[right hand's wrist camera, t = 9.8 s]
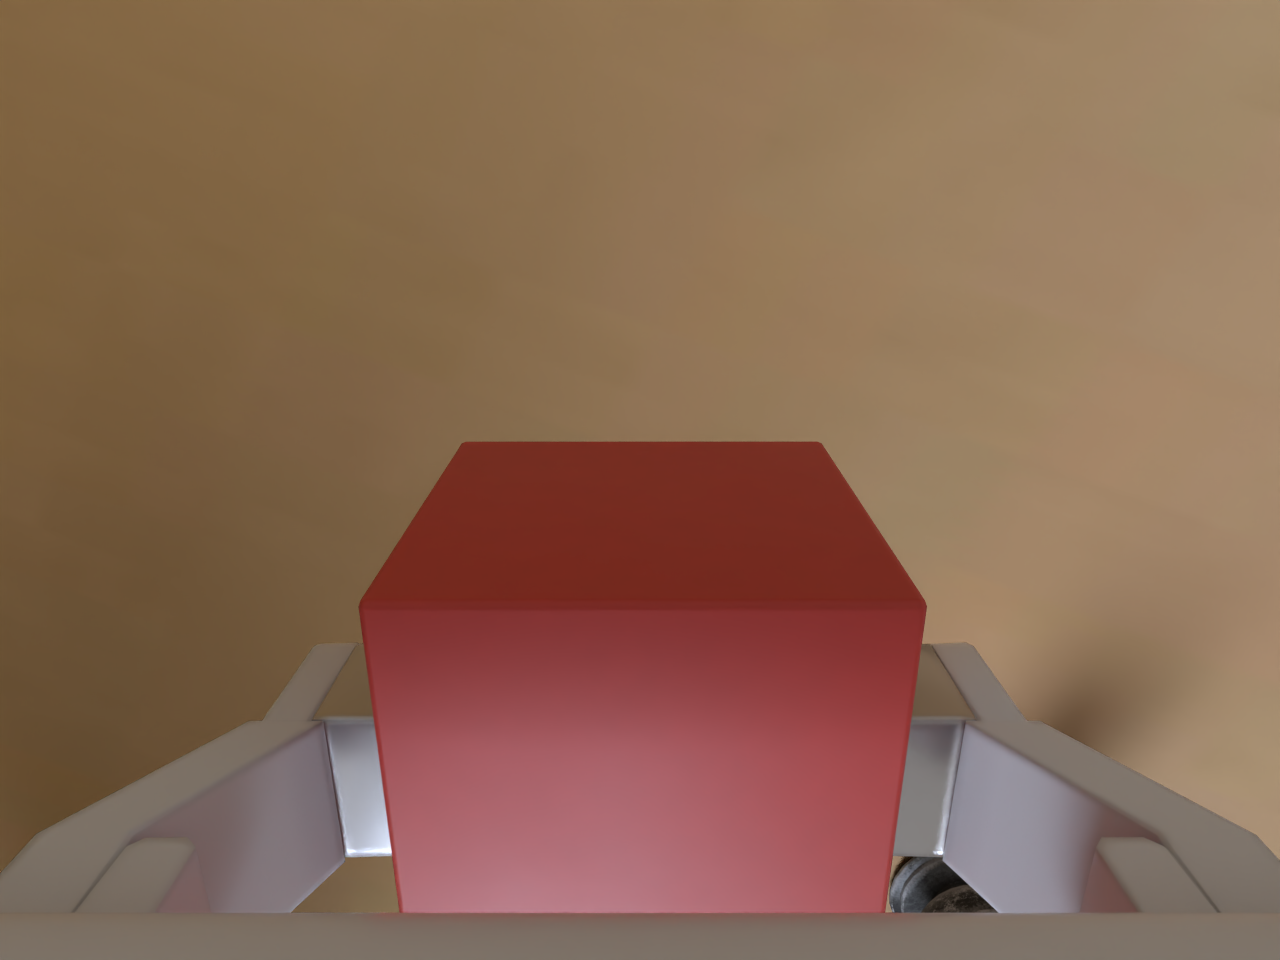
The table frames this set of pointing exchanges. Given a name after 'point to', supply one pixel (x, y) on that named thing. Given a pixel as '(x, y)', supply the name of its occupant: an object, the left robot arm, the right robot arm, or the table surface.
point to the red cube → (642, 683)
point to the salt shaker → (933, 889)
